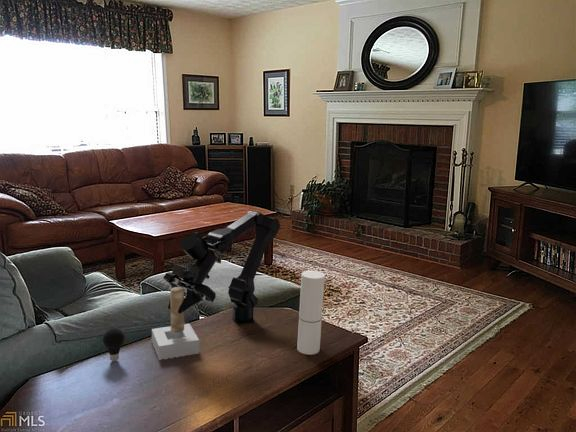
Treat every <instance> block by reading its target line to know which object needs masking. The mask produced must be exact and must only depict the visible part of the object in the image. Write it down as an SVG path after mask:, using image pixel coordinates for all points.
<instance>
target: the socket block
mask: <svg viewBox="0 0 576 432" xmlns="http://www.w3.org/2000/svg"><path fill="white" fill-rule="evenodd" d="M151 343H153V344H152V345H153V348H155V349H154V352H155V353H156V356H157V358H158V361H163V360H162V359H164V360H168V358H170V359H174V357H176V358H180V356H181V357H187V356H193V355H198V354H200V339H199V337H198V335H197V334H196V332H195V331H194V329H193V327H192V325H191V324H190V323H184V331H182V332H179V333H175V332H172V331H171V325H169V326H163V327H156V328H152V329H151ZM186 355H187V356H186Z"/></svg>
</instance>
